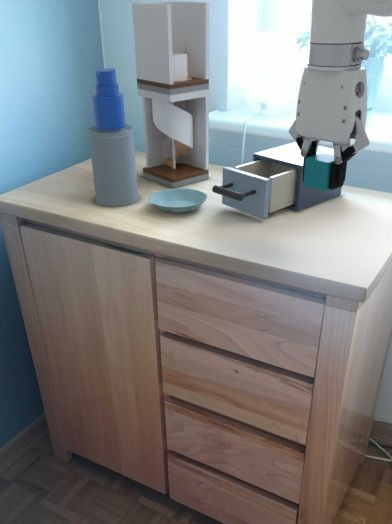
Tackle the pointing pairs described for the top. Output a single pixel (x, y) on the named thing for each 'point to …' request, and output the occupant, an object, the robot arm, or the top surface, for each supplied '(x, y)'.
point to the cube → (318, 171)
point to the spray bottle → (112, 145)
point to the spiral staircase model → (174, 89)
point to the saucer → (178, 200)
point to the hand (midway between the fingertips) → (322, 183)
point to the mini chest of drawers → (293, 158)
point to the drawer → (258, 187)
